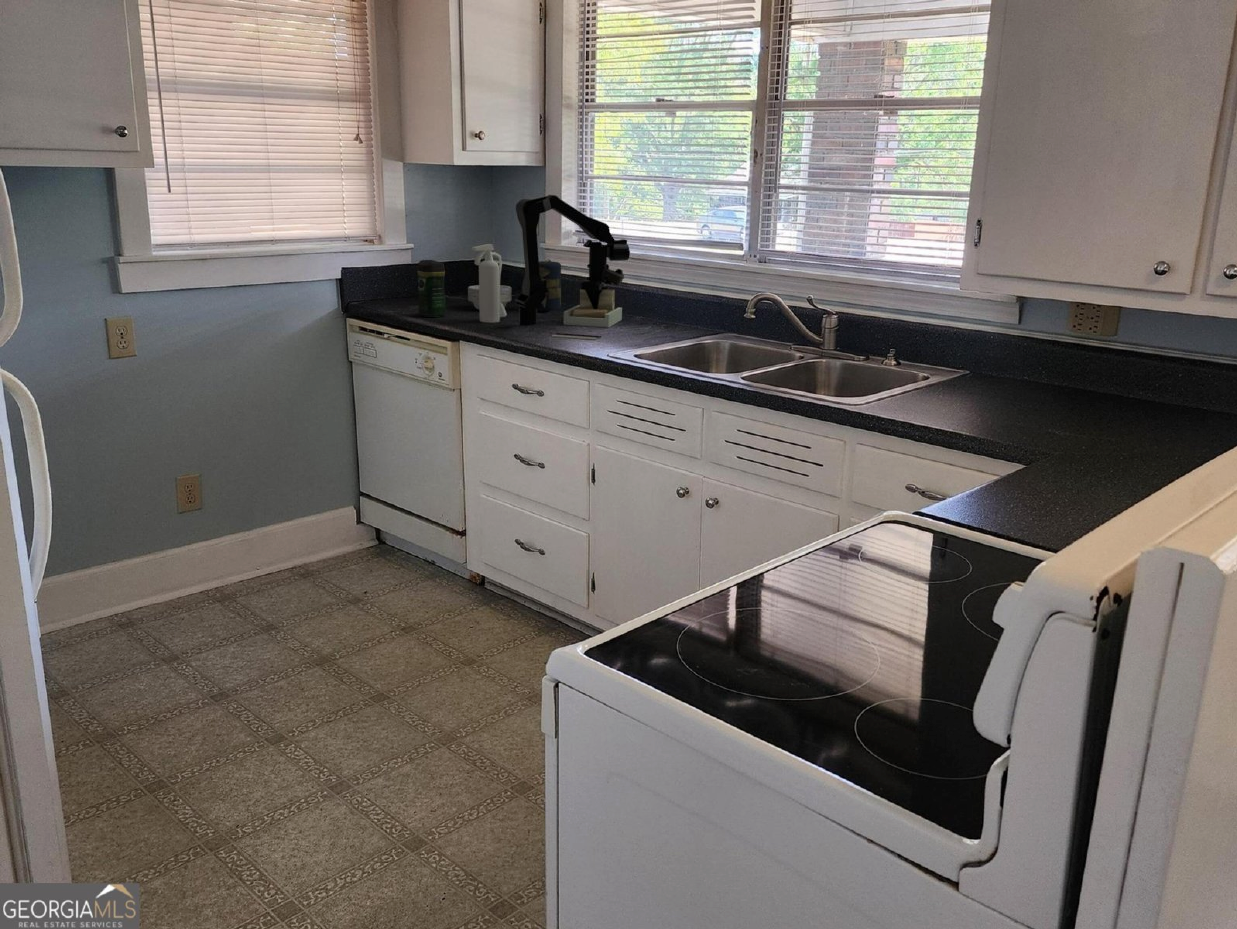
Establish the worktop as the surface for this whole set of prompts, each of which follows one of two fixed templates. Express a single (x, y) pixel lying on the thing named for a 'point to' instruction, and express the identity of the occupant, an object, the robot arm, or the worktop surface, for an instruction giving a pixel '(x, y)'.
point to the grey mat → (576, 336)
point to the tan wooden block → (604, 300)
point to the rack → (596, 322)
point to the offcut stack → (589, 313)
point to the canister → (551, 285)
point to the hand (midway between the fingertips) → (597, 309)
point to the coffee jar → (431, 288)
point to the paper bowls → (504, 297)
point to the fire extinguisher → (489, 285)
